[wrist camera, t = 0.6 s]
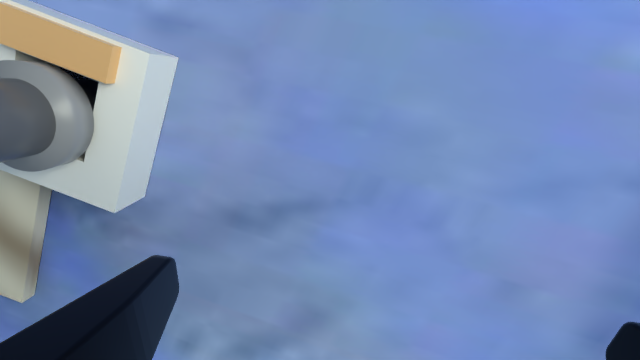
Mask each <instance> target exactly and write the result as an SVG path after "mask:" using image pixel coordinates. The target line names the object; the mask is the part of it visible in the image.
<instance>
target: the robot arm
mask: <svg viewBox="0 0 640 360" xmlns="http://www.w3.org/2000/svg"><path fill="white" fill-rule="evenodd" d="M178 293H179V282H178V275H177V268H176V263H175V260H174V259H173V258H172V257H167V256H160V255H154V256H151V257H149V258H147V259H146V260H144V261H142V262H140V263H139V264H137V265H135V266H133V267H132V268H130V269H128V270H126V271H125V272H123V273H121V274H120V275H118V276H116V277H114V278H113V279H111V280H109V281H107V282H106V283H104V284H102V285H100V286H99V287H97V288H95V289H93V290H92V291H90V292H88V293H86V294H85V295H83V296H81V297H80V298H78V299H76V300H74V301H73V302H71V303H69V304H67V305H66V306H64V307H62V308H60V309H59V310H57V311H55V312H53V313H52V314H50V315H48V316H46V317H45V318H43V319H41V320H40V321H38V322H36V323H34V324H33V325H31V326H29V327H27V328H26V329H24V330H22V331H20V332H19V333H17V334H15V335H13V336H12V337H10V338H8V339H6V340H5V341H3V342H1V343H0V360H152V358H153V356H154V353H155V351H156V349H157V346H158V344H159V341H160V339H161V336H162V334H163V331H164V329H165V326H166V324H167V321H168V319H169V317H170V314H171V312H172V309H173V307H174V304H175V302H176V299H177V297H178ZM606 360H640V323H637V322H627V323H625V324H623V326H622V327H621V328H620V330H619V331H618V332H617V334H616V335H615V337H614V338H613V340H612V341H611V342H610V344H609V345H608V347H607V349H606Z"/></svg>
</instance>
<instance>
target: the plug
mask: <svg viewBox="0 0 640 360" xmlns="http://www.w3.org/2000/svg"><path fill="white" fill-rule="evenodd" d="M98 84H99V82H97V81H94V80H90V79H74V78H73V77H72V76H70V75H69V74H68V73H67V72H65V71H64V70H62V69H60V68H58V67H56V66H54V65H51V64H48V63H44V62H34V61H18V60H2V61H0V163H1V162H2V163H4V164H5V165H7V166H9V167H12V168H14V169H17V170H21V171H28V172H35V171H42V170H46V169H49V168H53V167H56V166H60V165H64V164H67V163H70V162H72V161H74V160H76V159H78V158H79V157H80V156H81V155H82V154H83V153H84V152H85V151H86V150H87V148H88V146H89V145H90V142H91V140H92V136H93V132H94V117H93V110H94V105H95V100H96V94H97V89H98Z"/></svg>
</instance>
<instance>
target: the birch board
mask: <svg viewBox="0 0 640 360" xmlns="http://www.w3.org/2000/svg"><path fill="white" fill-rule="evenodd" d="M51 192H52V189H50V188H47V187H44V186H42V185H39V184H36V183H34V182H31V181H29V180H26V179H23V178H21V177H18V176H15V175H13V174H10V173H8V172H5V171H2V170H0V295H2V296H5V297H7V298H10V299H13V300H15V301H18V302H21V303H23V302H24V301H26V300H27V299H29V298H30V297H32V296H33V295H35V289H36V283H37V277H38V271H39V264H40V258H41V252H42V246H43V240H44V234H45V228H46V222H47V216H48V210H49V204H50V198H51Z"/></svg>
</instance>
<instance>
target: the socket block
mask: <svg viewBox="0 0 640 360" xmlns="http://www.w3.org/2000/svg"><path fill="white" fill-rule="evenodd" d="M2 60H18V61H34V62H44V63H48V64H51V65H54V66H56V67H58V68H60V67H62V68H64V69H67V70H70V71H72V72H75V73H77V74H80V75H83V76H85V77H88V78H90V79H93V80H96V81H98V82H99V84H98V89H97V94H96V100H95V105H94V110H93V117H94V132H93V136H92V140H91V142H90V145H89V146H88V148H87V150H86V151H85V152H84V153H83V154H82V155H81V156H80V157H79V158H78V159H76V160H74V161H72V162H70V163H67V164H64V165H60V166H56V167H53V168H49V169H46V170H42V171H35V172H28V171H21V170H17V169H14V168H12V167H9V166H7V165H5V164H4V163H2V162H1V163H0V170H2V171H5V172H8V173H10V174H13V175H15V176H18V177H21V178H23V179H26V180H29V181H31V182H34V183H36V184H39V185H42V186H44V187H47V188H50V189H52V190H55V191H57V192H60V193H63V194H65V195H68V196H71V197H73V198H76V199H78V200H81V201H84V202H86V203H89V204H92V205H94V206H97V207H99V208H102V209H105V210H107V211H110V212H113V213H116V212H118V211H120V210H121V209H123V208H125V207H127V206H129V205H131V204H133V203H134V202H136V201H138V200H140V199H142V198H144V197H145V194H146V190H147V185H148V181H149V177H150V173H151V169H152V165H153V161H154V157H155V153H156V148H157V144H158V140H159V136H160V132H161V128H162V124H163V120H164V116H165V111H166V107H167V103H168V99H169V95H170V91H171V87H172V83H173V79H174V75H175V70H176V66H177V62H178V57H176V56H173V55H170V54H168V53H165V52H162V51H160V50H157V49H155V48H152V47H149V46H147V45H144V44H142V43H139V42H136V41H134V40H131V39H129V38H126V37H123V36H121V35H118V34H116V33H113V32H110V31H108V30H105V29H102V28H100V27H97V26H95V25H92V24H89V23H87V22H84V21H82V20H79V19H76V18H74V17H71V16H69V15H66V14H63V13H61V12H58V11H55V10H53V9H50V8H48V7H45V6H42V5H40V4H37V3H35V2H32V1H28V0H0V61H2Z"/></svg>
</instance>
